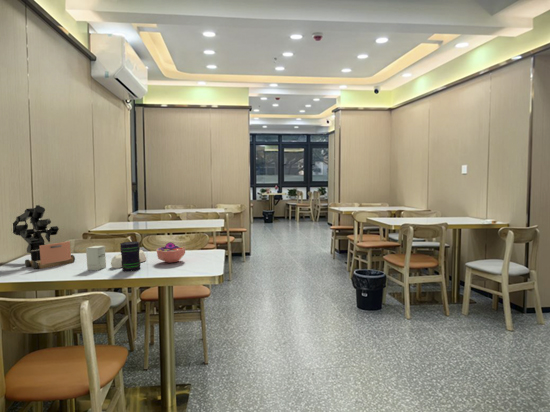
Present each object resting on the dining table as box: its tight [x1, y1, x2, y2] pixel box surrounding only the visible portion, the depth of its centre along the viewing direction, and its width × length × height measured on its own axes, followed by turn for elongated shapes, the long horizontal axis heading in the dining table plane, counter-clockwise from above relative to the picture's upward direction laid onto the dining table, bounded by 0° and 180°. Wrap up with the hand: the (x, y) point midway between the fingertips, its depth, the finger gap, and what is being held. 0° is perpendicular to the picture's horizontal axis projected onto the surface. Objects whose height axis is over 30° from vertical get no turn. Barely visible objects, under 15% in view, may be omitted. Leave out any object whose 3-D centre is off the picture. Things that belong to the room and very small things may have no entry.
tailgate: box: [39, 240, 72, 264], centre depth 249 cm, size 2×17×11 cm, turn 142°
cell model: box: [155, 242, 186, 264], centre depth 246 cm, size 17×20×11 cm
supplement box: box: [85, 245, 107, 271], centre depth 235 cm, size 7×7×13 cm
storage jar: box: [119, 241, 142, 273], centre depth 229 cm, size 10×10×15 cm
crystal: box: [110, 249, 147, 269], centre depth 245 cm, size 7×7×24 cm
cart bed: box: [24, 254, 76, 270], centre depth 255 cm, size 18×23×4 cm
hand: (46, 242), depth 256 cm, fingers open, 3 cm apart
